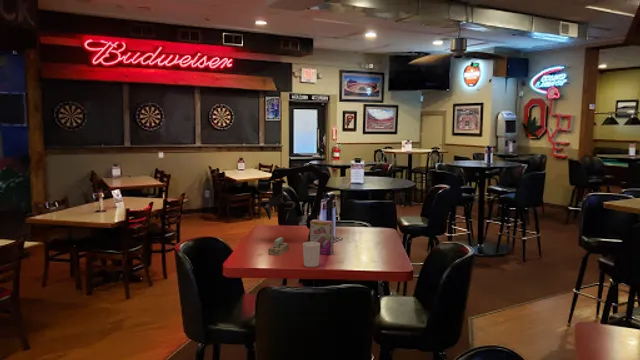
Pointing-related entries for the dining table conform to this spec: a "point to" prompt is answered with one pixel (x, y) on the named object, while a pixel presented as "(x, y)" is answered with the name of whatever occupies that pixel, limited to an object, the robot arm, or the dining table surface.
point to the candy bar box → (322, 235)
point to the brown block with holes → (278, 249)
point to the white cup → (311, 254)
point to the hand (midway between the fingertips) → (277, 219)
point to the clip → (278, 242)
